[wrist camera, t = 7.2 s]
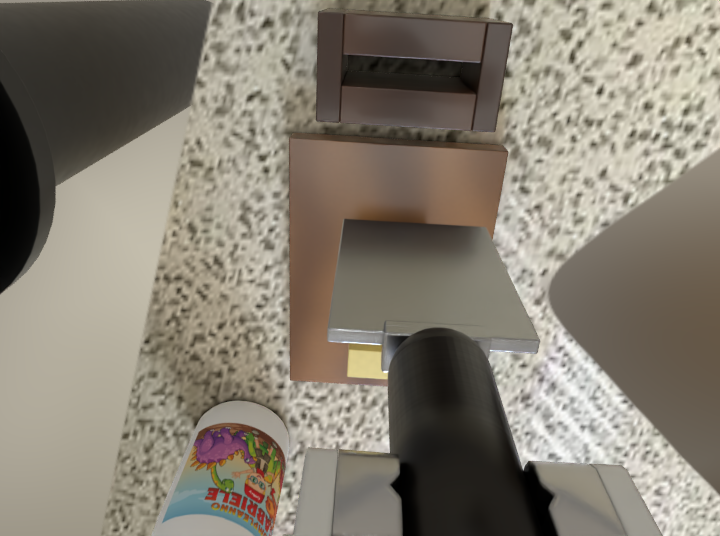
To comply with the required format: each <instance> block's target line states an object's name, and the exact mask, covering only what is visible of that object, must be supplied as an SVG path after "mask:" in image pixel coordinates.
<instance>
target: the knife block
mask: <svg viewBox="0 0 720 536" xmlns="http://www.w3.org/2000/svg"><path fill="white" fill-rule="evenodd" d="M512 28H513V24H512V23H509V22H504V21H499V20H494V19H490V18H477V17H461V16H445V15H429V14H413V13H397V12H381V11H365V10H350V11H349V10H348V9H333V8H329V9H326V10H322V11H319V12H318V38H317V92H316V121H320V122H336V123H339V122H341V123H352V124H368V125H384V126H400V127H416V128H432V129H448V130H464V131H471V130H472V131H482V132H495V130H496V124H497V118H498V112H499V106H500V100H501V94H502V88H503V82H504V76H505V70H506V64H507V58H508V52H509V46H510V40H511V34H512ZM348 55H359V56H375V57H391V58H407V59H423V60H439V61H455V62H462V69H461V76H460V77H447V76H431V75H415V74H399V73H383V72H367V71H350V70H348V71H347V63H348Z"/></svg>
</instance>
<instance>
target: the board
mask: <svg viewBox="0 0 720 536" xmlns="http://www.w3.org/2000/svg"><path fill="white" fill-rule="evenodd" d="M507 157H508V151H507V150H506V148H505V147H504V146H503V145H488V144H472V143H456V142H440V141H424V140H408V139H392V138H376V137H360V136H344V135H328V134H311V133H295V132H293V133H292V135H291V136H290V138H289V215H290V380H292V381H308V382H324V383H340V384H356V385H373V386H388V379H374V378H358V377H347V368H348V350H349V343H339V342H328V341H327V328H328V321H329V314H330V307H331V300H332V293H333V286H334V279H335V272H336V265H337V258H338V252H339V245H340V238H341V231H342V224H343V219H356V220H373V221H391V222H409V223H426V224H444V225H462V226H479V227H486V228H487V230H488V232H489V234H490V237H491V239H492V240H493V234H494V229H495V223H496V218H497V212H498V207H499V201H500V195H501V190H502V184H503V179H504V173H505V168H506V162H507Z"/></svg>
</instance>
